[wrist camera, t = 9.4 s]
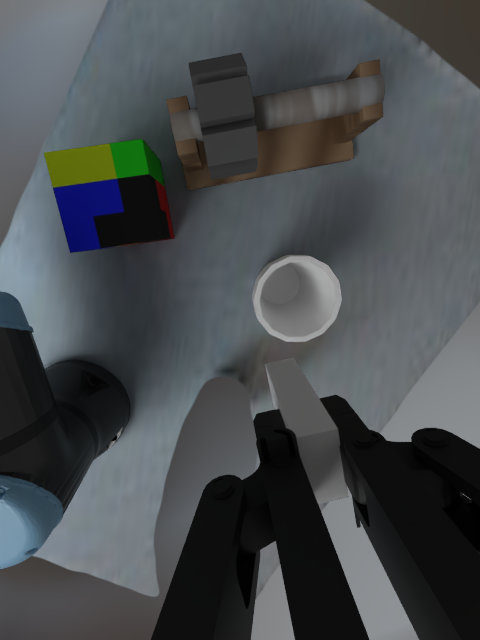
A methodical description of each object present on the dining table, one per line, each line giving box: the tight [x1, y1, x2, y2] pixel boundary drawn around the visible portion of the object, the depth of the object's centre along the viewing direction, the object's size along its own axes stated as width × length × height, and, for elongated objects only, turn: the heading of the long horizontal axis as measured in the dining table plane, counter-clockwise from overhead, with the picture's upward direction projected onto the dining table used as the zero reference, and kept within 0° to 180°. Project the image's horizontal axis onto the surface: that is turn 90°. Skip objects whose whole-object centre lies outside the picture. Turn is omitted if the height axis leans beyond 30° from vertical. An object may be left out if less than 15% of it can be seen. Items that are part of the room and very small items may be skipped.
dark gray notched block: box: [189, 53, 258, 180], centre depth 34 cm, size 5×10×10 cm, turn 10°
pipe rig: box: [167, 60, 385, 191], centre depth 38 cm, size 22×9×12 cm, turn 100°
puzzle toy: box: [44, 139, 174, 253], centre depth 40 cm, size 10×10×10 cm
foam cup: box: [252, 255, 342, 342], centre depth 42 cm, size 10×9×13 cm
